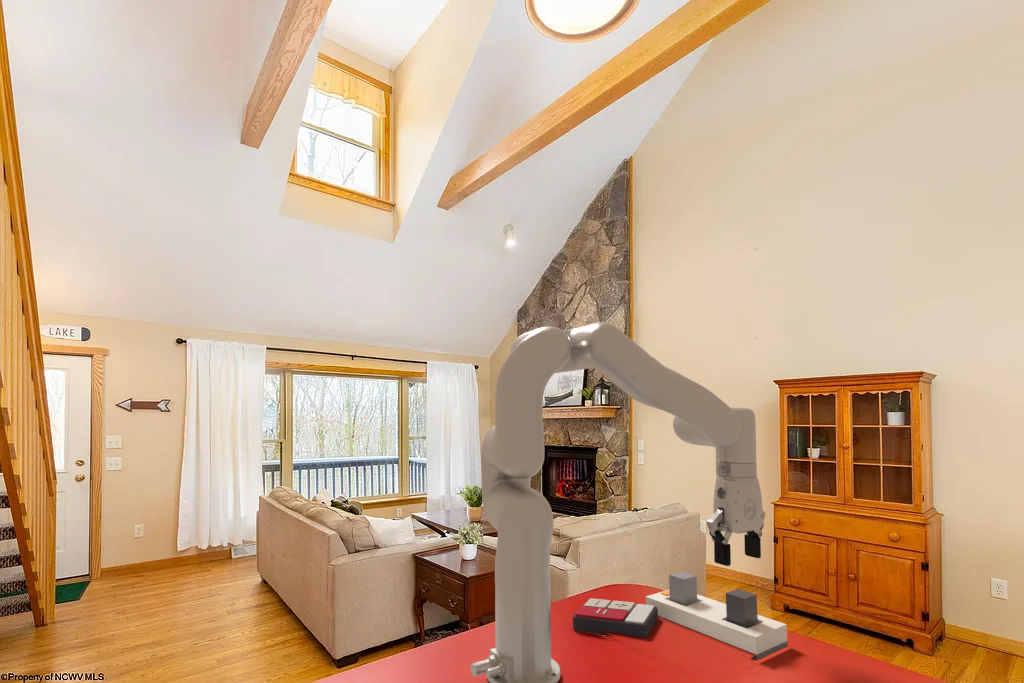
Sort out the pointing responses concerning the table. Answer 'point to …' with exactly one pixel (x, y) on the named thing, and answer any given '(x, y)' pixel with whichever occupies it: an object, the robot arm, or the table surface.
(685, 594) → the grey square peg
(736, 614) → the plug
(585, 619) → the calculator
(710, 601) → the power strip
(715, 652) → the table surface
